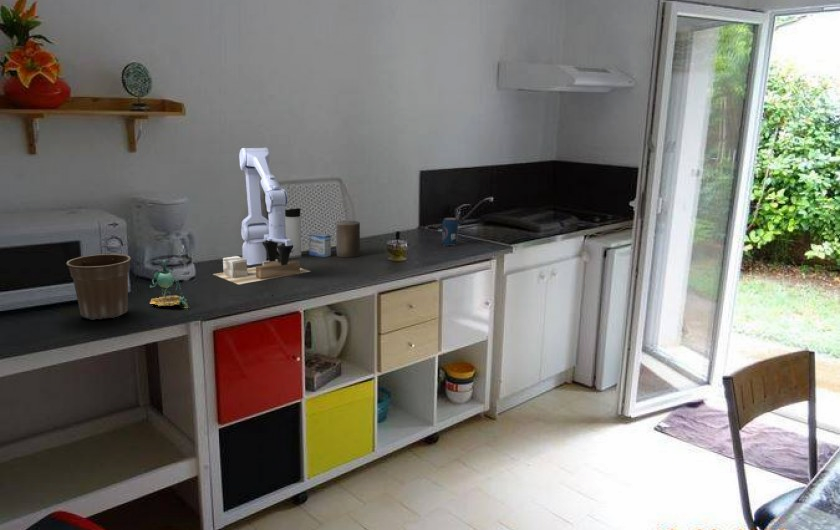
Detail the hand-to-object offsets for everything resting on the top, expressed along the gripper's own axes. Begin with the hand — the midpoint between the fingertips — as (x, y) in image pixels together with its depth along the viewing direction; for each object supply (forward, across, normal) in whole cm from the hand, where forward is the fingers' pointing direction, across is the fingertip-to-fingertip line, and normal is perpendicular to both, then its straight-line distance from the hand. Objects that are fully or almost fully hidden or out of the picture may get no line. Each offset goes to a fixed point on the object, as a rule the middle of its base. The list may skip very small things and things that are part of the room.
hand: (278, 263), depth 234 cm
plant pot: (+6, +5, -61) cm, 61 cm away
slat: (+4, 0, 0) cm, 4 cm away
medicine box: (+6, -21, +33) cm, 40 cm away
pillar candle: (+6, -14, +42) cm, 45 cm away
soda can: (+6, -3, +91) cm, 91 cm away
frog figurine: (+6, +7, -43) cm, 44 cm away
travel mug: (+5, -25, +23) cm, 34 cm away
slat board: (+5, -7, -2) cm, 9 cm away
